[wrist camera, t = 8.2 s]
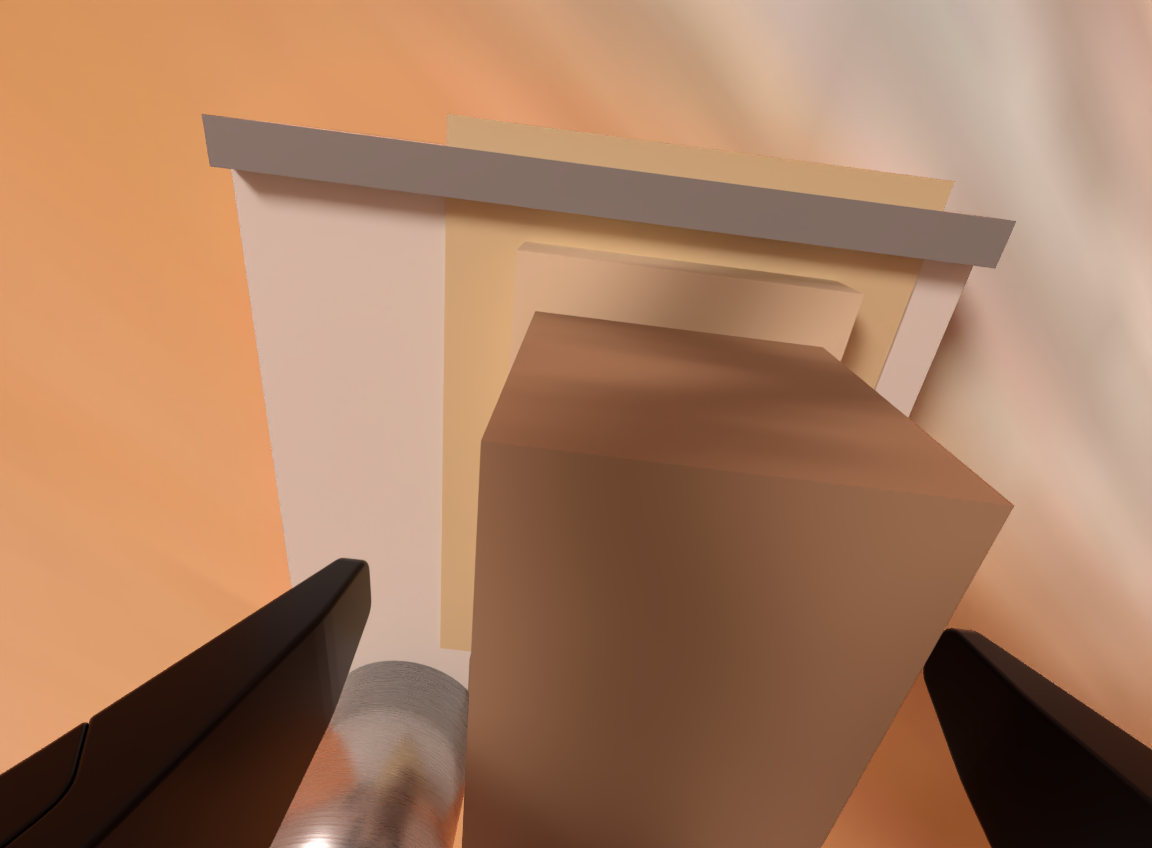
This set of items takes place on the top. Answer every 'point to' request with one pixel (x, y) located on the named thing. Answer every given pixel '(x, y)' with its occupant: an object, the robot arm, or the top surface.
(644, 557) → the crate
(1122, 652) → the top surface
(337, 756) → the canister
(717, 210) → the dock
